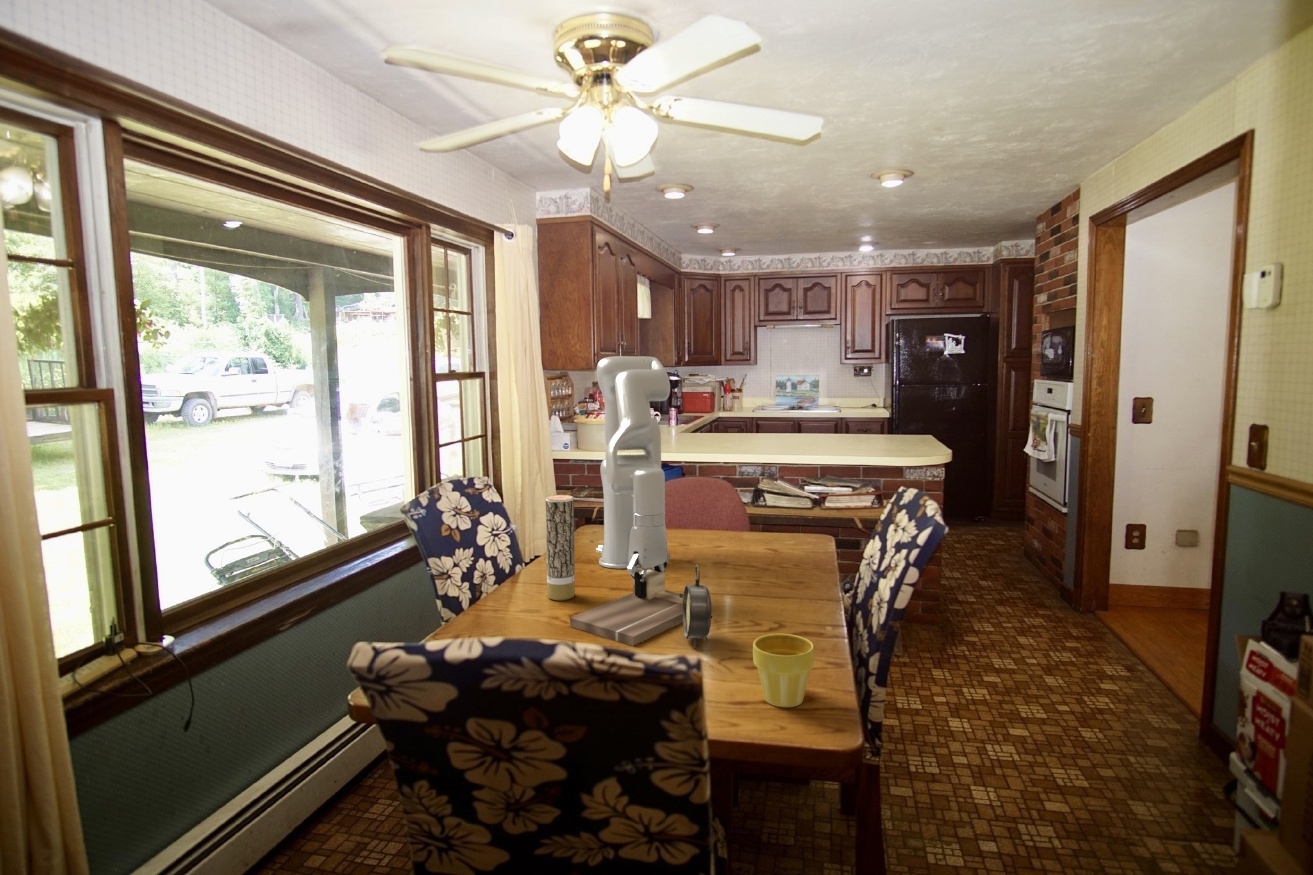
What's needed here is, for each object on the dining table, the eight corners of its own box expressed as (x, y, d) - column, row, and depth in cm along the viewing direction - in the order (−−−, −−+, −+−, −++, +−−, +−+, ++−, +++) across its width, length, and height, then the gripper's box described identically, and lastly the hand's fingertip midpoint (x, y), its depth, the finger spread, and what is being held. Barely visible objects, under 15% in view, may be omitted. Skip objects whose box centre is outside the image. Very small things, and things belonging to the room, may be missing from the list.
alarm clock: (681, 632, 151) (681, 558, 150) (706, 631, 152) (706, 557, 150) (687, 652, 141) (688, 573, 139) (714, 651, 141) (715, 572, 139)
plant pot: (751, 684, 127) (751, 631, 126) (809, 686, 126) (810, 633, 125) (753, 712, 116) (754, 655, 115) (817, 714, 115) (818, 657, 114)
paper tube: (552, 603, 170) (551, 501, 168) (543, 595, 176) (541, 496, 174) (579, 598, 173) (577, 498, 171) (569, 591, 179) (567, 494, 177)
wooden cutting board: (570, 626, 155) (570, 617, 155) (649, 594, 177) (649, 586, 177) (633, 646, 144) (633, 636, 144) (709, 609, 166) (709, 600, 166)
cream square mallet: (633, 595, 170) (633, 575, 169) (648, 589, 174) (648, 569, 174) (676, 606, 162) (676, 585, 161) (691, 599, 166) (691, 578, 166)
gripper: (658, 512, 178) (658, 581, 179) (613, 524, 164) (614, 599, 166) (682, 515, 173) (682, 587, 175) (638, 528, 159) (638, 606, 161)
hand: (649, 592), depth 170 cm, fingers closed on cream square mallet, 5 cm apart
